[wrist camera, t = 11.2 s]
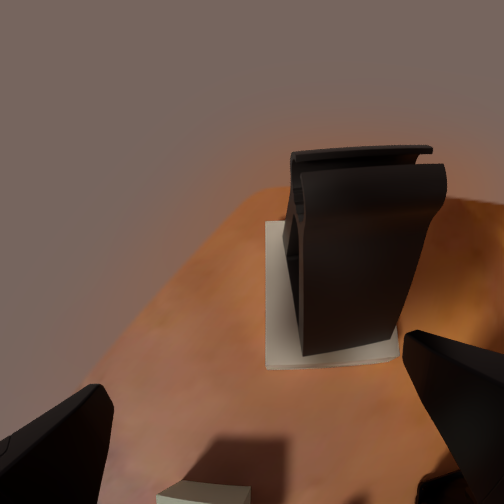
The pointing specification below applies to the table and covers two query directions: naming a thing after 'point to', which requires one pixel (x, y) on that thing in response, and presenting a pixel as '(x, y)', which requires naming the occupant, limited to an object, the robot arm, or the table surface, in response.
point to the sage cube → (204, 494)
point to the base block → (285, 324)
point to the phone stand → (356, 239)
